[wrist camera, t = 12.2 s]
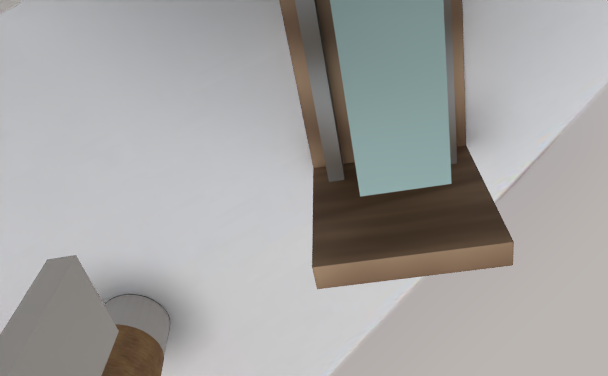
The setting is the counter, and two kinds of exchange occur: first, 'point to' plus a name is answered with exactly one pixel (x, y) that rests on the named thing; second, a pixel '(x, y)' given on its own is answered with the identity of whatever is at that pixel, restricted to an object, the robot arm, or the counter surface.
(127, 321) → the coffee cup
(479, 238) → the wooden book rack
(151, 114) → the counter surface
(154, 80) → the counter surface
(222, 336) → the counter surface
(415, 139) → the door panel
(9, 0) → the cylinder with rectangular tab
